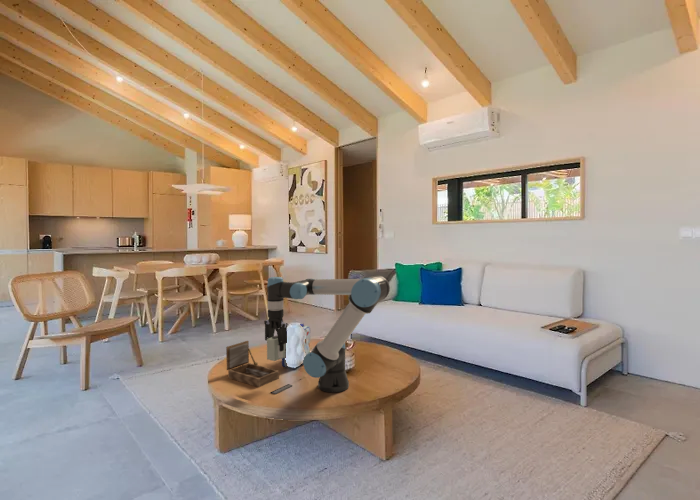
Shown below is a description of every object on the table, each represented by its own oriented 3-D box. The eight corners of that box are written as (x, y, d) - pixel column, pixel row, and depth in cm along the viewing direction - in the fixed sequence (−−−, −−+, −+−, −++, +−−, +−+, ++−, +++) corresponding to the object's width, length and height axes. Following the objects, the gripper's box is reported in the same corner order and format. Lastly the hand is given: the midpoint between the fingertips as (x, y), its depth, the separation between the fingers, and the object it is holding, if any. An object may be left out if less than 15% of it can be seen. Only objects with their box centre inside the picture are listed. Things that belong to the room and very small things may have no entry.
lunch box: (296, 355, 254) (295, 320, 253) (312, 356, 252) (312, 320, 251) (279, 371, 227) (279, 331, 226) (297, 372, 225) (297, 332, 224)
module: (284, 357, 204) (284, 335, 203) (274, 361, 198) (274, 338, 197) (277, 355, 207) (277, 334, 206) (267, 359, 201) (266, 337, 200)
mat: (292, 386, 205) (292, 385, 205) (275, 394, 195) (275, 393, 195) (277, 382, 211) (277, 380, 211) (260, 389, 201) (260, 388, 201)
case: (279, 380, 213) (278, 347, 212) (258, 389, 202) (258, 354, 201) (247, 371, 226) (247, 340, 225) (226, 379, 215) (226, 346, 214)
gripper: (294, 309, 199) (295, 357, 200) (267, 305, 209) (268, 351, 211) (284, 312, 193) (284, 362, 194) (256, 308, 203) (257, 355, 204)
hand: (276, 356), depth 202 cm, fingers closed on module, 5 cm apart
